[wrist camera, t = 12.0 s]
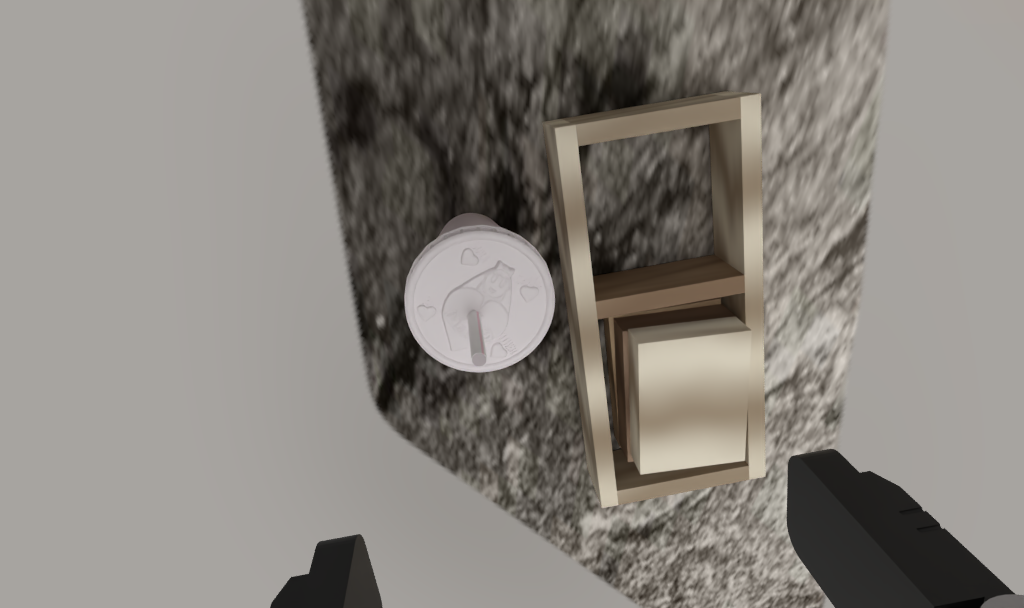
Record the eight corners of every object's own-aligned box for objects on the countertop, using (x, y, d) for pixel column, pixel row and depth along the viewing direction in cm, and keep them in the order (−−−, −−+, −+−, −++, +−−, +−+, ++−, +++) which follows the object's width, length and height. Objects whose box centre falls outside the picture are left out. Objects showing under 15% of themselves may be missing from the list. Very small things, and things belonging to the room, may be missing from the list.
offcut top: (627, 329, 35) (638, 344, 33) (735, 316, 35) (751, 330, 33) (630, 454, 37) (640, 474, 35) (729, 441, 38) (744, 460, 36)
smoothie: (392, 264, 35) (361, 377, 22) (451, 164, 34) (456, 224, 21) (489, 318, 37) (514, 453, 24) (550, 226, 36) (612, 317, 23)
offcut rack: (542, 121, 34) (554, 128, 30) (726, 91, 34) (760, 93, 30) (587, 468, 41) (601, 508, 38) (736, 440, 42) (765, 476, 38)
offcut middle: (613, 318, 36) (622, 331, 35) (722, 303, 37) (737, 316, 35) (619, 443, 39) (627, 462, 38) (719, 428, 40) (733, 446, 38)
